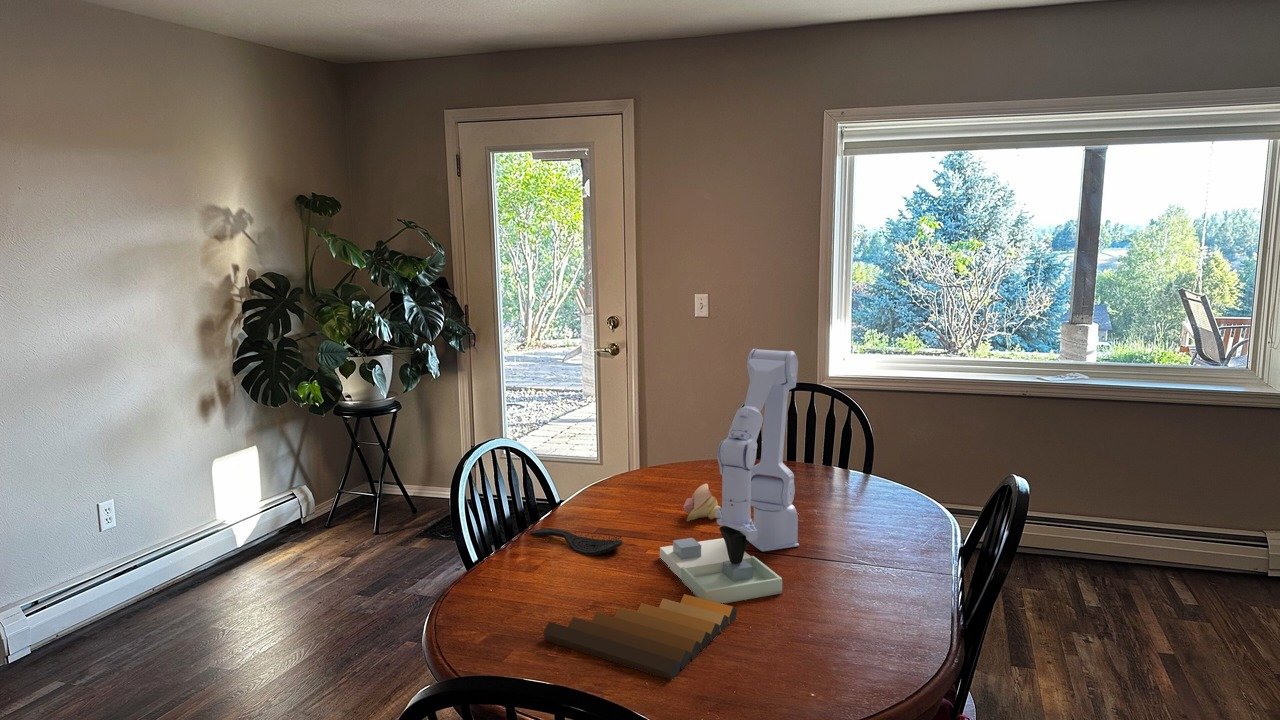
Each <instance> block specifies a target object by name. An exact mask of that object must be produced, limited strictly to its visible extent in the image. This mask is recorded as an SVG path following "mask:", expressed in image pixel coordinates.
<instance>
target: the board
mask: <svg viewBox="0 0 1280 720" xmlns="http://www.w3.org/2000/svg"><path fill="white" fill-rule="evenodd" d="M697 542H698V543H699V544H700V545H701V557H695V558H689V559H682V560H681V559H680V558H679V557H678V556H677V555H676V554H675V553H674V552H673V545H666V546H661V547H660V546H659V559H660V558H661V559H662V560H663V561H664V562H665V563H666V564H667V565H668V566H667V565H666V564H665V563H664V562H663V561H662V560H661V559H660V560H661V561H662V562H663V563H664V564H665V565H666V566H667V567H668V568H669V567H670V568H669V569H670V571H671V572H672V573H674V575H675V574H676V575H677V576H678V577H679V578H680V579H681V567H685V568H686V569H687V570H688V571H689V572H690V573H691V574H692V575H693V576H694V577H696V576H702V575H708V574H714V573H720V572H723V561H729V556H728V551H727V547H726V543H725V540H724V538H723V537H722V538H716V539H708V540H702V541H700V540H699V541H697ZM751 556H752V555H750V554H748V553H747V552H746V551H745V552H744V556H743V559H744V560H745V561H747V562H748V563H749V564H751ZM676 575H675V576H676ZM677 576H676V577H677ZM678 577H677V578H678ZM679 578H678V579H679ZM680 579H679V580H680Z"/></svg>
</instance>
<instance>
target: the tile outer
mask: <svg viewBox="0 0 1280 720" xmlns="http://www.w3.org/2000/svg"><path fill="white" fill-rule="evenodd" d="M698 542H699V541H697V540H696V539H695V538H693V537H688V538H681V539H674V540H672V546H673V552H674V553H675V554H676V555H677V556H678V557H679V558H680V559H681V560H682V559H689V558H695V557H701V545H700V544H699V543H698Z"/></svg>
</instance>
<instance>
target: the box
mask: <svg viewBox="0 0 1280 720" xmlns="http://www.w3.org/2000/svg"><path fill="white" fill-rule="evenodd" d="M750 556H751V565H752V566H753V578H752V579H746V580H740V581H735V582H733V581H731V580H730V579H729V578H728V577H727V576H726V575H724V574H723V572H720V573H714V574H708V575H702V576H696V577H694V576H693V575H692V574H691V573H690V572H689V571H688V570H687V569H686V568H685V567H681V580H682V581H681V580H680V581H681V583H683V584H684V586H685V587H686V586H687V587H688V588H689V589H690V590H691V591H690V590H689V589H688V588H687V587H686V588H687V589H688V590H689V591H690V592H691V593H692V592H693V593H692V594H693V595H694V597H696V596H697V598H701V599H705V600H709V601H713V602H717V603H722V604H723V603H724V604H728V603H734V602H740V601H744V600H752V599H757V598H763V597H768V596H773V595H780V594H783V578H782V577H781V576H780V575H778V574H777V573H776V572H775V571H773V569H771V568H770V567H768V565H766V564H765V563H763V562H762V561H761V560H759V559H758V558H757V557H756V556H754V555H750Z"/></svg>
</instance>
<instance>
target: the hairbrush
mask: <svg viewBox="0 0 1280 720" xmlns="http://www.w3.org/2000/svg"><path fill="white" fill-rule="evenodd" d="M531 535H532V536H533V537H539V536H541V537H542V536H544V537H546V536H553V537H554V536H555V537H558V538H559V537H560V538H563V539H564V540H565V541H566V543H567V544H568V546H569V548H570V549H571V550H573V551H574V552H576V553H579V554H582V555H585V556H587V557H588V556H589V557H594V556H598V555H603V554H605V553H608V552H610V551H613V550H615V549H618V548H619V547H621V546H622V545H623V544H624V542H623V540H622V539H621V538H622V535H617V536H615V535H614V536H613V538H614V539H613V538H610V537H611V535H605V536H606V538H605V536H602V539H600V537H601V535H599V534H598V536H596V535H592V534H591V536H590V537H589V533H587V534H584V536H582V535H583V534H582V532H581V534H580V535H576V531H574V533H571V532H570V531H566V530H563V529H558V528H553V527H548V528H547V527H546V528H540V529H539V528H538V529H535V530H532V531H531ZM594 537H595V538H594ZM596 537H597V538H596Z"/></svg>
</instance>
